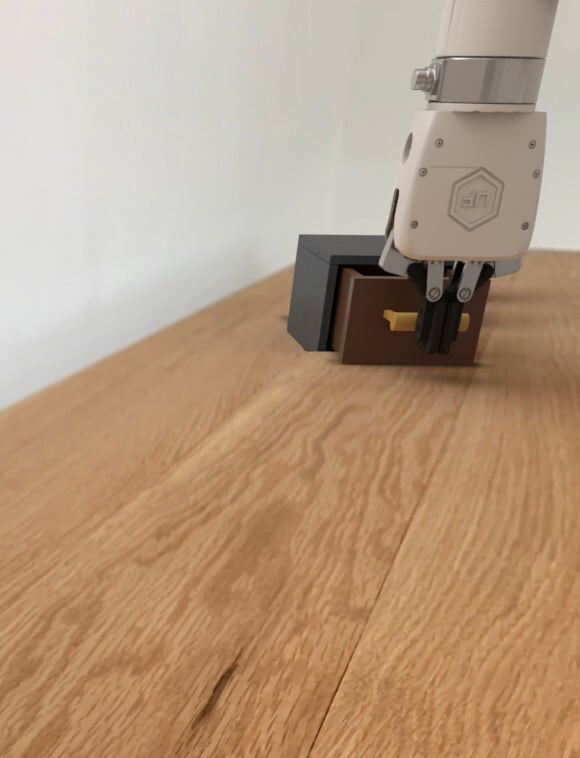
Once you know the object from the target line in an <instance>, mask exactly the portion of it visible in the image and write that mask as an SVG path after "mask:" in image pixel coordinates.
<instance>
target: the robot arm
mask: <svg viewBox="0 0 580 758" xmlns="http://www.w3.org/2000/svg"><path fill="white" fill-rule="evenodd" d="M559 2H560V0H444V4H443V8H442V9H443V10H442V15H441V21H440V27H439V33H438V38H437V44H436V50H435V58H432V59H431V61H430V64H429V66H425V67H424V68H415V69H413V72H412V73H411V74H412V75H411V80H410V89H411V90H412V91H420V92H421V93H424V95H425V97H424V100H425V101H427V102H426V106H425V108H417V110H416V111H415V112H416V113H415V116H414V118H413V120H412V123H411V126H410V129H409V131H408V135H407V138H406V141H405V144H404V147H403V151H402V153H401V156H400V157H401V158H400V161H399V165H398V169H397V173H396V176H395V180H394V183H393V184H394V185H393V188H392V193H391V197H390V201H389V204H388V205H389V206H388V211H387V215H386V222H385V227H384V228H385V230H384V235H385V243H386V245H385V247H384V250H383V252H382V255H381V257H380V260H379V267H380V268H381V269H383V270H385V271H387V272H390V273H393V274H397V275H400V276H404V277H407V278H408V280H409V281H410V282H411V284H412V285H413V286H414V288H415V289H416V291H417V293H418V294H419V295H420V296H421V299H420V304H419V309H418V315H417V320H416V325H415V331H414V339H415V341H417V342H418V343H417V347H418V348H419V349H420V350H422V351H423V352H424V353H426V354H427V355H434V354H435V353H439V354H440V355H448V353H449V350H450V345H451V342H455V341H456V339H457V336H458V331H459V326H460V321H461V316H462V312H463V307H464V302H467V301H468V300H470V298H471V297H472V295H473V293H474V292H475V291H476V290H477V289H479V288H480V287H481V286H482V285H483V284H484V283H486V282H487V281H488V280H489V279H490V280H491V279H494V278H495V279H496V278H500V277H505V276H509V275H512V274H513V275H514V274H516V273H517V272H519V271H520V269H521V266H522V257H523V256H524V255H525V254H527V252H528V250H529V248H530V245H531V242H532V238H533V234H534V231H535V227H536V226H535V225H536V220H537V214H538V210H539V209H538V208H539V203H540V198H541V197H540V196H541V189H542V182H543V176H544V175H543V173H544V164H545V155H546V145H547V144H546V143H547V122H548V121H547V120H548V119H547V117H548V116H547V114H548V113H547V111H536V109H537V102H538V98H539V95H540V89H541V85H542V80H543V76H544V71H545V66H546V61H547V59H546V58H547V57H548V53H549V48H550V43H551V38H552V34H553V29H554V26H555V21H556V15H557V12H558V7H559ZM404 256H406V257H409V258H412V259H417V260H418V261H417V262H416V261H414V260H410V259H407V258H405V257H404ZM444 261H455V263H454V266H453V269H452V272H451V275H450V278H449V280H448V283H447V286H446V289H445V290H444V293H443V292H442V291H443V272H444Z"/></svg>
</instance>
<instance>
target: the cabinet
mask: <svg viewBox="0 0 580 758" xmlns="http://www.w3.org/2000/svg"><path fill="white" fill-rule="evenodd" d="M385 245H386V243H385V234H383V235H382V234H312V233H311V234H309V233H308V234H306V233H304V234H303V233H302V234H301V233H299V234H298V239H297V247H296V254H295V261H294V269H293V277H292V286H291V287H292V288H291V294H290V302H289V310H288V320H287V326H286V331H287V332H288V333H289V334H290V335H291V336H292V337H293V338H294V340H295V341H297V343H298V344H299V345H300V346H301V347H302V348H303V349H304V350H305V351H306V352H312V353H313V352H318V353H319V352H323V353H324V352H325V353H326V352H327V353H337V352H336V351H335V350H334V349H333V348H332V347H331V346H330V345H329V344H328V343H327V339H328V333H329V326H330V319H331V312H332V305H333V298H334V291H335V284H336V278H337V271H338V265H379V260H380V257H381V255H382V252H383V250H384V247H385ZM404 257H405V258H407V259H410V260H414V261H416V262H417V261H418V260H417V259H412V258H409V257H406V256H404ZM454 263H455V261H444V266H449V267H451V268H453V266H454Z"/></svg>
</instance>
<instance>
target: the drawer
mask: <svg viewBox="0 0 580 758" xmlns="http://www.w3.org/2000/svg"><path fill="white" fill-rule="evenodd" d="M452 269H453V268H451V267H449V266H444V272H443V291H442V292H443V293H444V290H445V289H446V286H447V283H448V280H449V278H450V275H451V272H452ZM491 283H492V279H491V278H490V279H489V280H488V281H487V282H486V283H484V284H483V285H482V286H481V287H480V288H479V289H477V290H476V291H475V292H474V293H473V295H472V297H471V298H470V300H468V301H467V302H464V307H463V312H462V316H461V321H460V326H459V331H458V336H457V339H456V341H455V342H451V345H450V350H449V353H448V355H440V354H439V353H435V354H434V355H427V354H426V353H424V352H423V351H422V350H420V349H419V348H418V347H417V343H418V342H417V341H415V339H414V331H415V325H416V320H417V315H418V309H419V304H420V299H421V296H420V295H419V294H418V293H417V291H416V289H415V288H414V286H413V285H412V284H411V282H410V281H409V280H408V278H407V277H404V276H400V275H397V274H393V273H390V272H387V271H385V270H383V269H381V268H380V267H379V265H338V271H337V278H336V284H335V291H334V298H333V305H332V312H331V319H330V326H329V333H328V339H327V343H328V344H329V345H330V346H331V347H332V348H333V349H334V350H335V351H336V352H335V353H337V354H338V362H339V364H340V365H362V366H363V365H366V366H367V365H368V366H370V365H371V366H381V365H382V366H441V367H443V366H445V367H446V366H452V367H474V364H475V359H476V353H477V349H478V344H479V341H480V340H479V339H480V334H481V330H482V325H483V320H484V316H485V310H486V307H487V301H488V297H489V293H490V288H491Z"/></svg>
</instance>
